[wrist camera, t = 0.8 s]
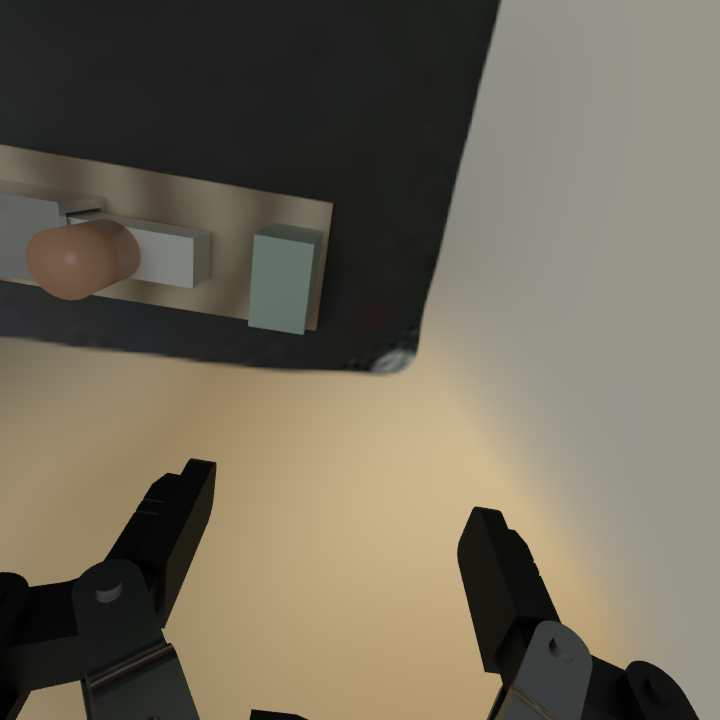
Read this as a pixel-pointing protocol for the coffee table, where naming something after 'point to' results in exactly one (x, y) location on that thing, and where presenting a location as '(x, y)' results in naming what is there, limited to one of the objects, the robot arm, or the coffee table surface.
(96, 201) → the aluminium sleeve
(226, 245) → the oak base
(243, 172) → the coffee table surface
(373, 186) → the coffee table surface
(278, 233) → the sage socket
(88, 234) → the tube
